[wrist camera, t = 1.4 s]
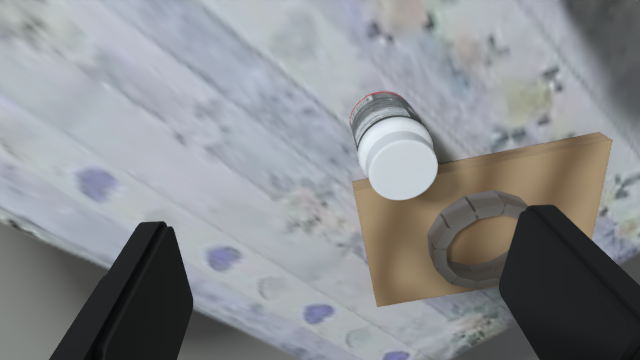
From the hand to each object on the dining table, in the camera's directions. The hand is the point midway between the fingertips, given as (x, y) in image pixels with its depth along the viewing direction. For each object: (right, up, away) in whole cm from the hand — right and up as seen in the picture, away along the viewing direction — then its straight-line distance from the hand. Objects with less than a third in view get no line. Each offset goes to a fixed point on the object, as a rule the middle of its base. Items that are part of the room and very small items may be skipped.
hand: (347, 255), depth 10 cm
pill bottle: (+4, +7, +18) cm, 20 cm away
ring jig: (+13, -2, +24) cm, 27 cm away
